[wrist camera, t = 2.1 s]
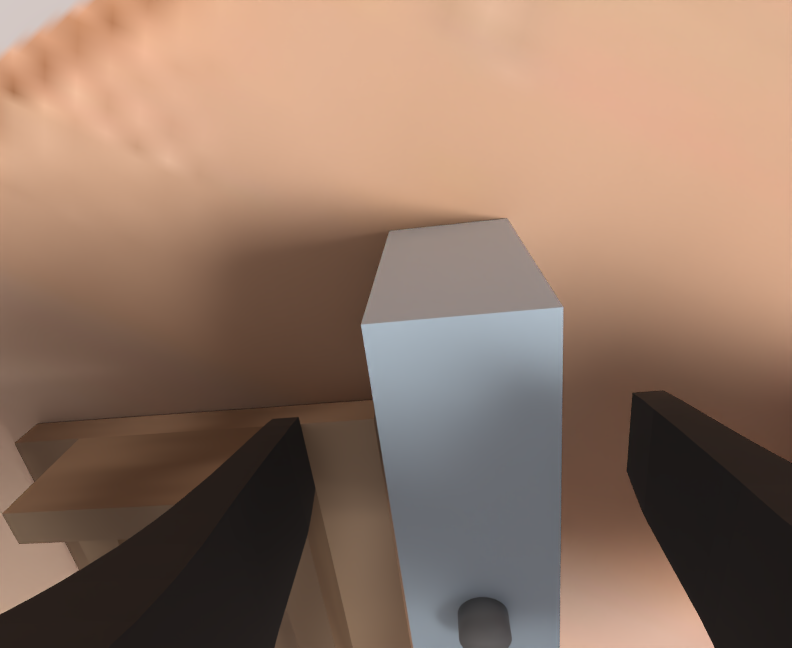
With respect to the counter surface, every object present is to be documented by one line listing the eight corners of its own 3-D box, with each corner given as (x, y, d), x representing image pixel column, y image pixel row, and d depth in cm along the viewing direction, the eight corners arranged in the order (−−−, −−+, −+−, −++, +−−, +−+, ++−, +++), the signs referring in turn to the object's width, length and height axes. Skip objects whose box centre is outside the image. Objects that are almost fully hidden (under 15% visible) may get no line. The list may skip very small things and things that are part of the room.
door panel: (507, 217, 13) (572, 321, 7) (515, 469, 16) (565, 687, 10) (389, 230, 13) (356, 338, 7) (420, 474, 16) (415, 688, 10)
